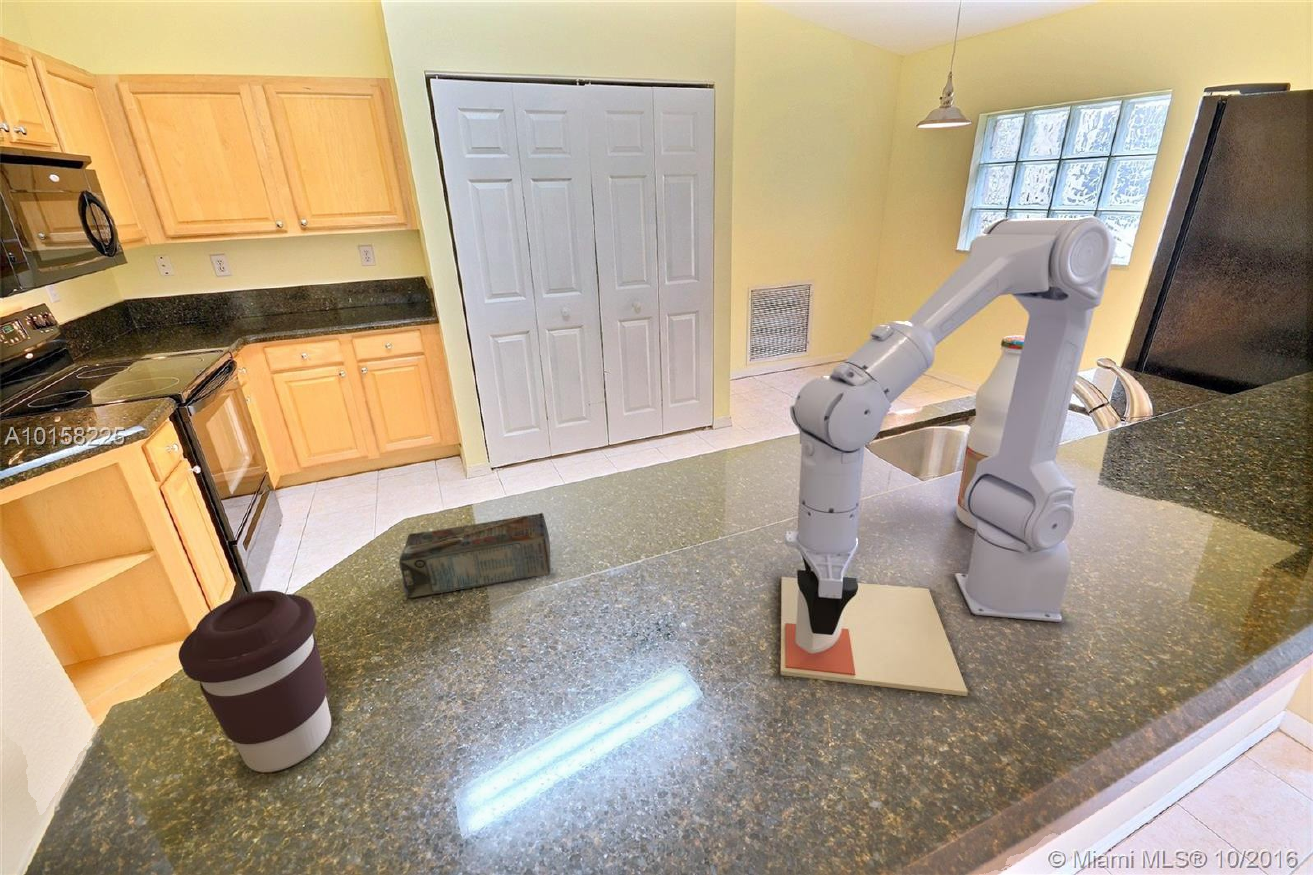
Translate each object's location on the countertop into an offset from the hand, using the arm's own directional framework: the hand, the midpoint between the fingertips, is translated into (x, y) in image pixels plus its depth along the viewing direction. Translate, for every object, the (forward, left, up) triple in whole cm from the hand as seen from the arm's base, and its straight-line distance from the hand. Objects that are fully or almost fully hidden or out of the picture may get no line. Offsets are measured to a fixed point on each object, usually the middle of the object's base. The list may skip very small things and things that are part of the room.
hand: (820, 613), depth 61 cm
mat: (-5, -5, -5) cm, 9 cm away
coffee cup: (+50, +20, -5) cm, 54 cm away
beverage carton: (+45, -9, -5) cm, 46 cm away
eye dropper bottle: (0, 0, -4) cm, 4 cm away
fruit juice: (-27, -33, -5) cm, 43 cm away
